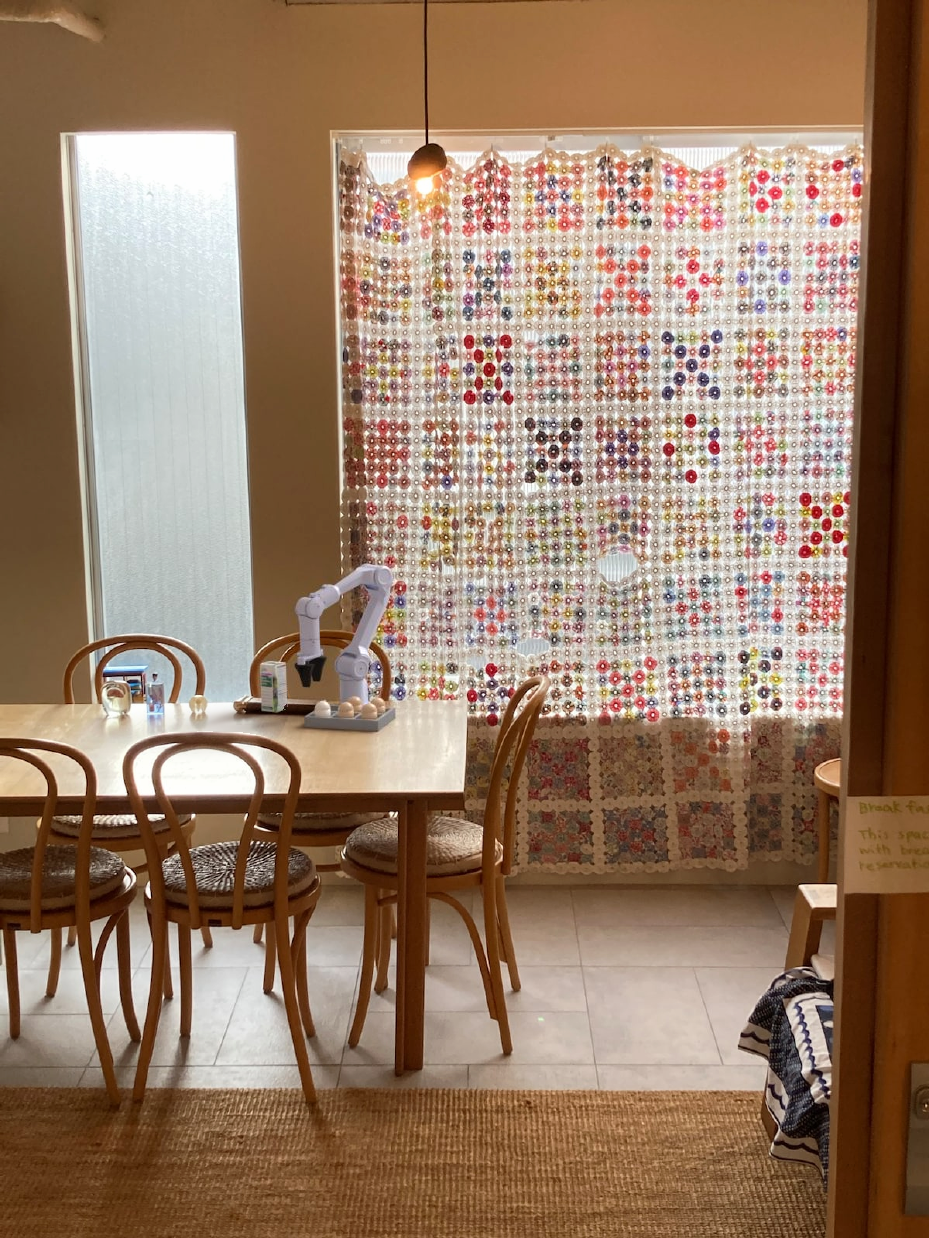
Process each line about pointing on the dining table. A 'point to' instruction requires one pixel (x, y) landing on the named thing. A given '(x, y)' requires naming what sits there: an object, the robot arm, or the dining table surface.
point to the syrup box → (273, 686)
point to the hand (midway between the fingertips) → (311, 684)
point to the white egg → (322, 709)
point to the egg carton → (354, 716)
